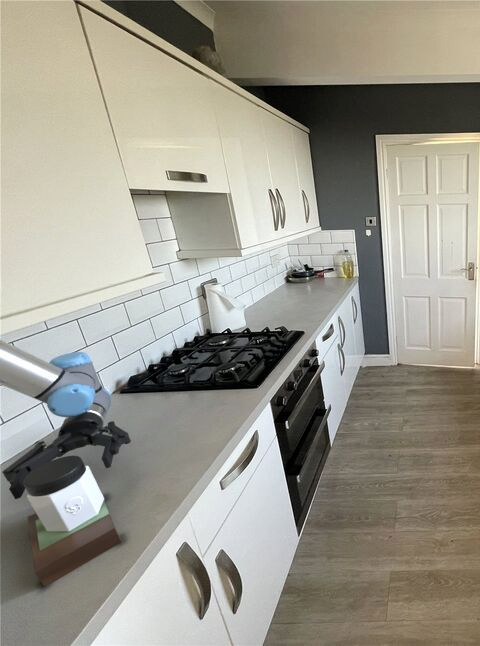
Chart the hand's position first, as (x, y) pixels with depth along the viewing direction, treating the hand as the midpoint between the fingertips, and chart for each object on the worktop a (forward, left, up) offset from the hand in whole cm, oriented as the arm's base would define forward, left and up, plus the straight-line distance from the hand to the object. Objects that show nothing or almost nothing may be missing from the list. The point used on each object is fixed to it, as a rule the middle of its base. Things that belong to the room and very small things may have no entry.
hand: (62, 477), depth 71 cm
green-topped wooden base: (+4, -2, -13) cm, 14 cm away
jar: (+3, 0, -8) cm, 9 cm away
